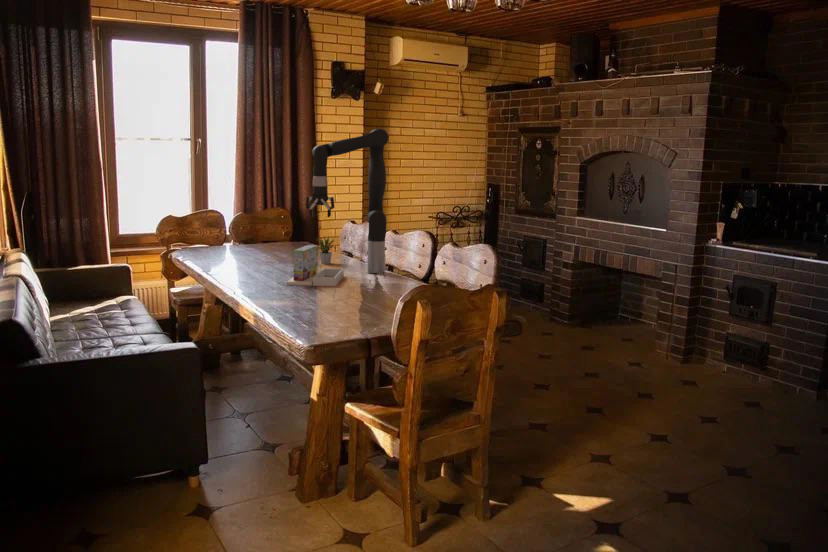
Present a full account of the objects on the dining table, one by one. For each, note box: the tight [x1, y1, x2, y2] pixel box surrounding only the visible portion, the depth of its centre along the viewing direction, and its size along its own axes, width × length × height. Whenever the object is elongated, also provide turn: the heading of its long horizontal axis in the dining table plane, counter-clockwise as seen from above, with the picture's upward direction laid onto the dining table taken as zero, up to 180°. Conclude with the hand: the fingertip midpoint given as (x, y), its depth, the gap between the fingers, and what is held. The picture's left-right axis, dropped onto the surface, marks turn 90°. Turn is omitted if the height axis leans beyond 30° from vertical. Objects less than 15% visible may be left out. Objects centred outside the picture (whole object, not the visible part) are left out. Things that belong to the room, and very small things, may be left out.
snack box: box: [293, 244, 318, 281], centre depth 345 cm, size 21×6×15 cm, turn 170°
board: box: [286, 275, 315, 286], centre depth 347 cm, size 12×26×2 cm, turn 176°
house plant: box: [317, 235, 338, 265], centre depth 395 cm, size 14×14×16 cm
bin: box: [312, 267, 345, 287], centre depth 346 cm, size 11×26×4 cm, turn 176°
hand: (320, 216), depth 358 cm, fingers open, 8 cm apart
